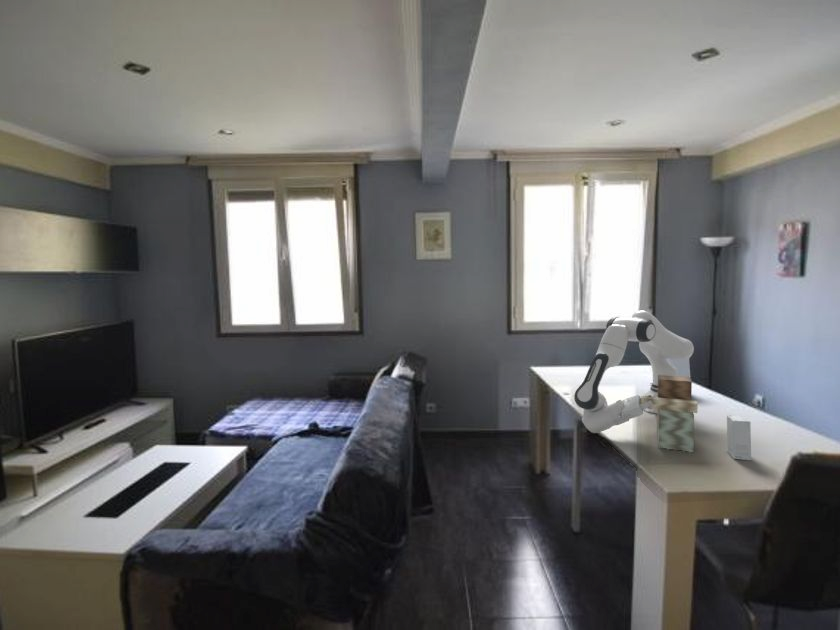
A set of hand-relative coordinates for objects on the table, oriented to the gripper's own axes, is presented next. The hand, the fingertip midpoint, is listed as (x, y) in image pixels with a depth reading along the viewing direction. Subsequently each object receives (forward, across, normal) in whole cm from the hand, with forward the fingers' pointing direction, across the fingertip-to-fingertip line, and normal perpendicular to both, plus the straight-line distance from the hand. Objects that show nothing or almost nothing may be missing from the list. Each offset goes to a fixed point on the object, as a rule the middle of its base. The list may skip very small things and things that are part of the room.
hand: (651, 399), depth 181 cm
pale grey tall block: (+2, +91, +23) cm, 94 cm away
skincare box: (+16, -3, +31) cm, 35 cm away
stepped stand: (-2, +5, +20) cm, 21 cm away
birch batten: (+3, 0, +6) cm, 7 cm away
